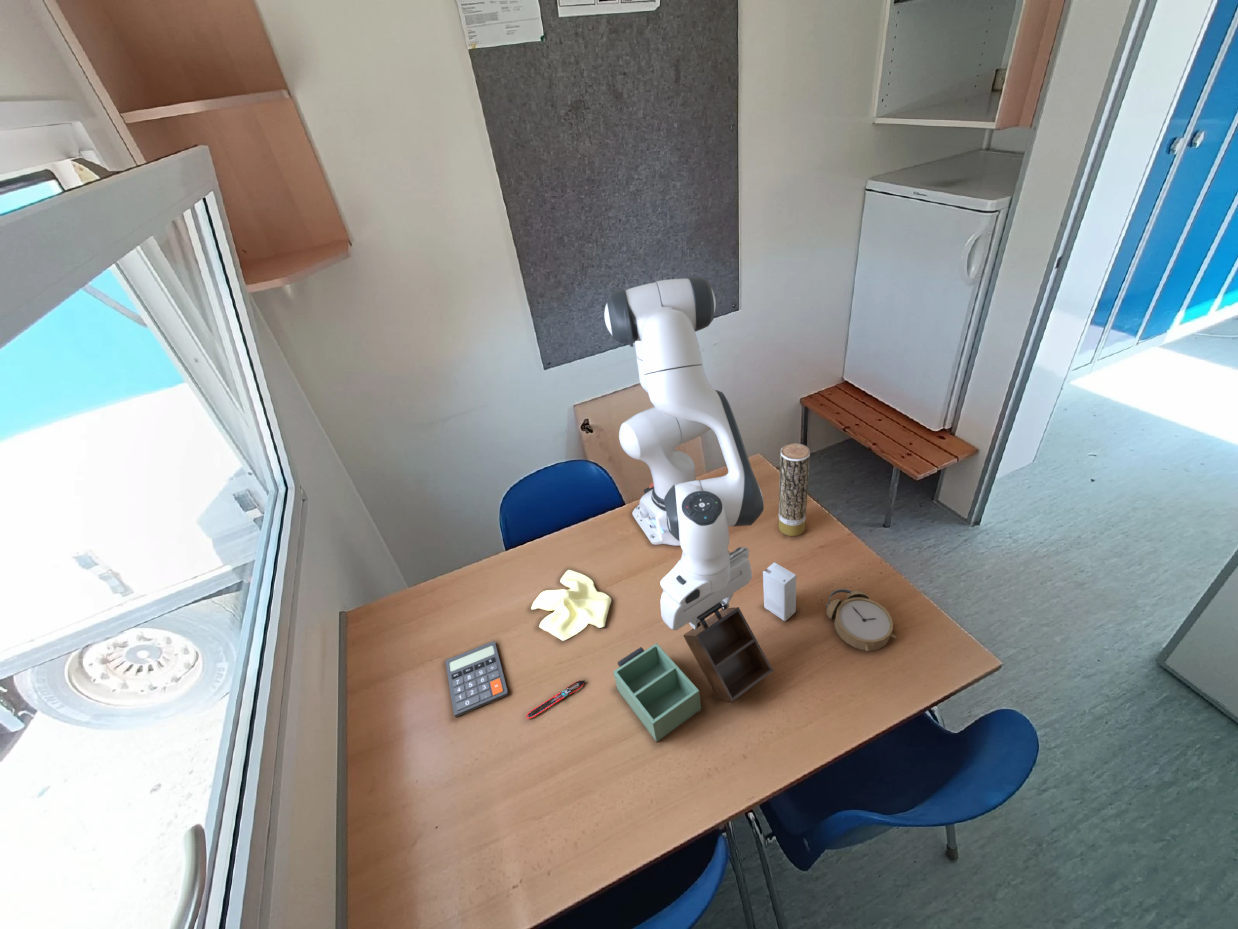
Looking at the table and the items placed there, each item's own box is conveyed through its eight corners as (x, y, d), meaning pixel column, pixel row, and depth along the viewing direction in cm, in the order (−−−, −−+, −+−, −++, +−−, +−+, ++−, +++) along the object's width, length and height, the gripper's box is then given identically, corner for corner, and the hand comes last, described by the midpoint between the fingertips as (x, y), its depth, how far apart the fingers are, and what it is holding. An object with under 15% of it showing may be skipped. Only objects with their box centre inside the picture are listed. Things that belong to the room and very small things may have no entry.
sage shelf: (701, 709, 112) (699, 690, 108) (656, 742, 108) (652, 723, 104) (652, 653, 124) (649, 634, 120) (610, 680, 120) (605, 662, 116)
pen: (524, 715, 116) (523, 713, 116) (582, 678, 121) (582, 676, 121) (528, 722, 115) (527, 720, 114) (587, 684, 120) (586, 683, 119)
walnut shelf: (757, 668, 117) (773, 670, 111) (716, 698, 113) (731, 702, 107) (717, 596, 119) (731, 594, 113) (676, 622, 115) (688, 622, 109)
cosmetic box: (796, 611, 128) (798, 574, 121) (784, 623, 126) (785, 585, 119) (774, 597, 132) (775, 560, 125) (762, 608, 130) (762, 571, 123)
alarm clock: (861, 651, 114) (816, 593, 124) (855, 662, 117) (812, 605, 128) (906, 630, 116) (858, 575, 126) (899, 642, 120) (853, 587, 130)
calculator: (453, 715, 117) (445, 659, 129) (455, 717, 118) (446, 662, 130) (507, 692, 120) (494, 640, 132) (508, 694, 120) (495, 642, 132)
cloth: (623, 619, 133) (619, 602, 129) (549, 653, 128) (543, 636, 124) (589, 561, 150) (585, 544, 146) (523, 589, 145) (517, 572, 142)
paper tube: (809, 526, 149) (815, 448, 135) (796, 541, 145) (801, 462, 131) (786, 517, 153) (789, 440, 139) (773, 531, 150) (775, 453, 135)
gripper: (736, 534, 111) (737, 581, 119) (652, 585, 104) (659, 632, 112) (759, 552, 107) (758, 600, 115) (673, 606, 99) (679, 653, 107)
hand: (709, 616), depth 113 cm, fingers closed on walnut shelf, 6 cm apart
